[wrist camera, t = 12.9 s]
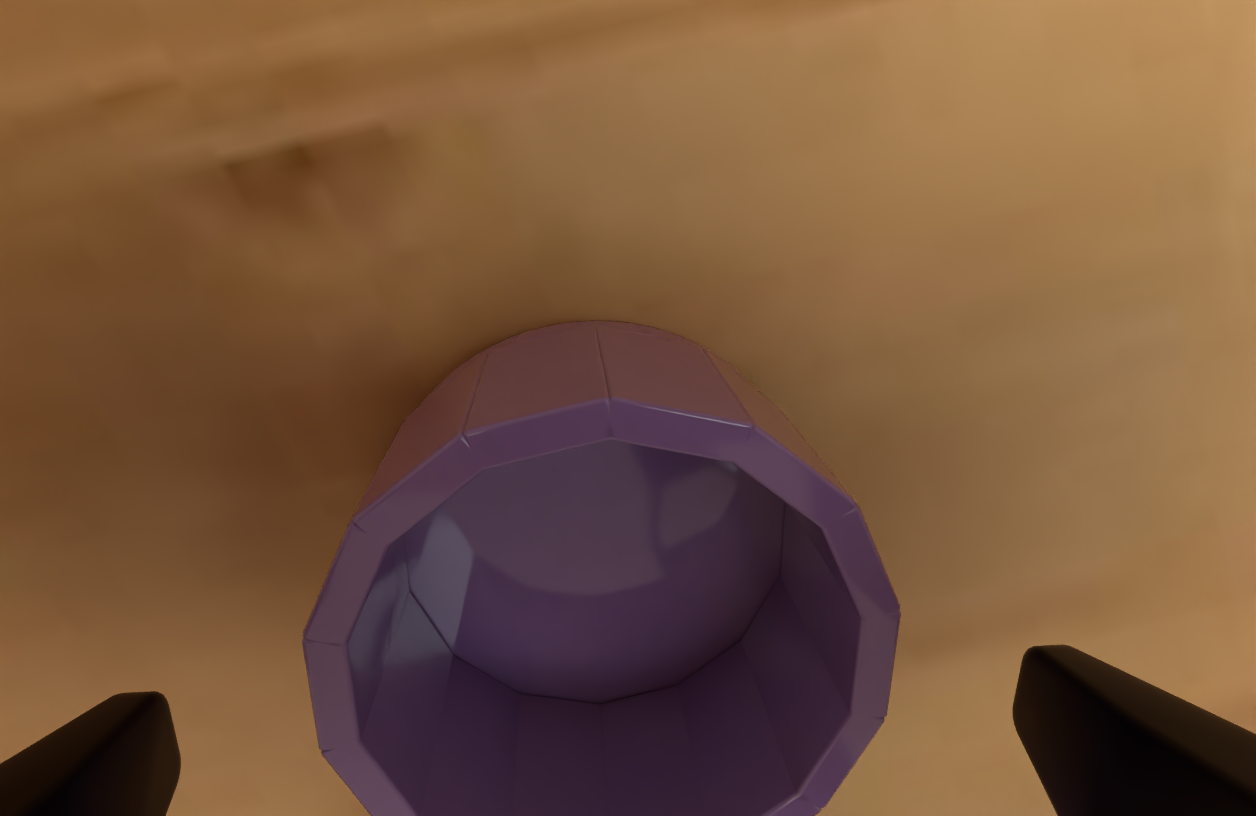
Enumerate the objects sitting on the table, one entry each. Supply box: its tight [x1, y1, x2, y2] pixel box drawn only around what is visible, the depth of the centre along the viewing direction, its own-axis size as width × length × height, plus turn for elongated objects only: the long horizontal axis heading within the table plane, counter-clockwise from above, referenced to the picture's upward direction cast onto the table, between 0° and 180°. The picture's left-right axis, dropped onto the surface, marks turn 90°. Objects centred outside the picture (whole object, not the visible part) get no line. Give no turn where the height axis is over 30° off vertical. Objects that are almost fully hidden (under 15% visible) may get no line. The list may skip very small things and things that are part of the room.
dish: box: [302, 321, 901, 816], centre depth 10 cm, size 6×6×4 cm
